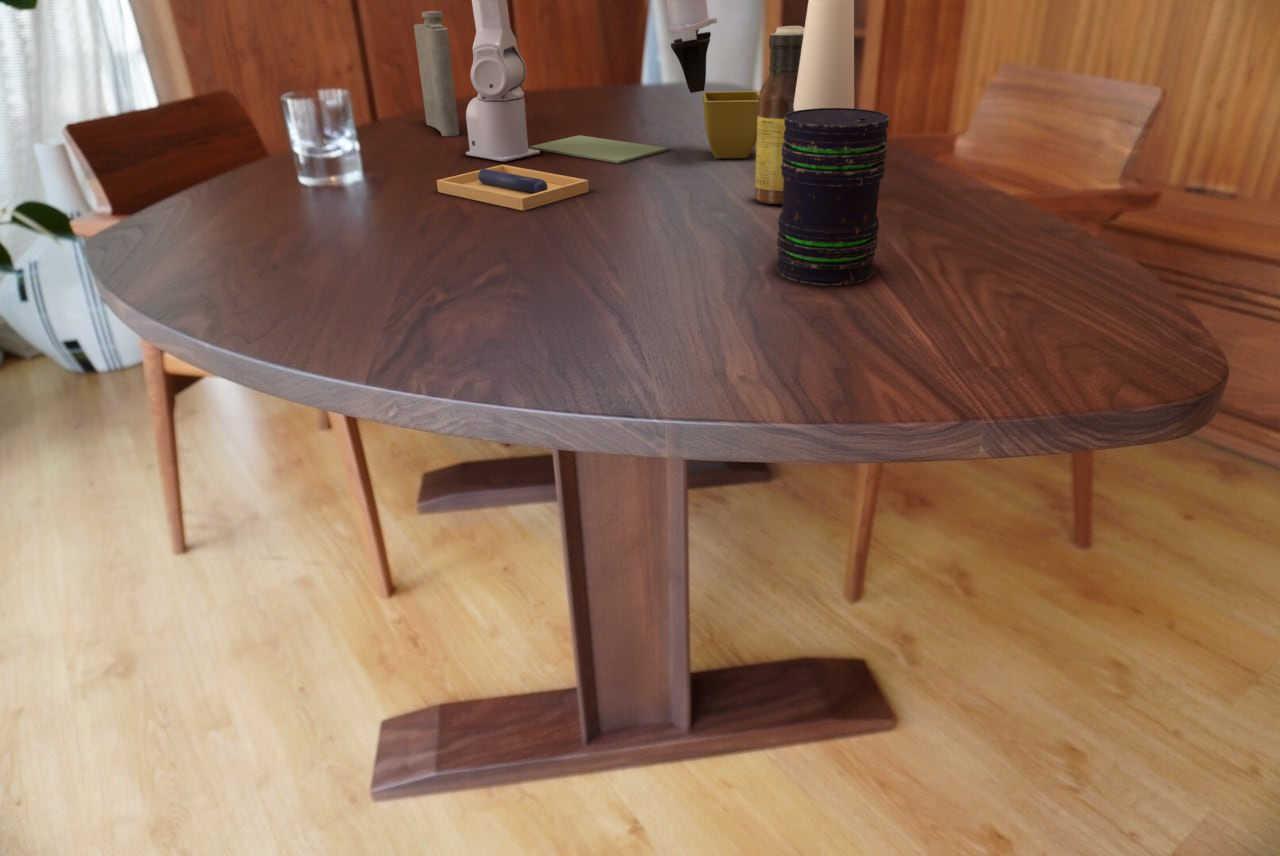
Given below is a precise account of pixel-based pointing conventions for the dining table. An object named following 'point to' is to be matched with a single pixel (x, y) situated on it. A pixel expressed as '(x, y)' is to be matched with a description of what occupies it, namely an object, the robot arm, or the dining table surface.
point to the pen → (512, 181)
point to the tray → (511, 198)
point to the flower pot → (731, 122)
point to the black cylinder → (831, 194)
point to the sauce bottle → (775, 114)
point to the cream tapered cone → (827, 57)
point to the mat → (599, 148)
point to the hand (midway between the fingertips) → (697, 88)
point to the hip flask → (436, 74)
